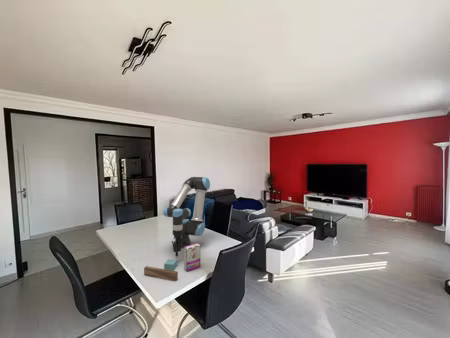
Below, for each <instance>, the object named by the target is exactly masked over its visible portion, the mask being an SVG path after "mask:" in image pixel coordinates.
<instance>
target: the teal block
mask: <svg viewBox="0 0 450 338" xmlns="http://www.w3.org/2000/svg"><path fill="white" fill-rule="evenodd" d="M163 267H164V268H163V269H166V270H171V271H175V270H176V268H177V267H178V260H175V259H170V258H169V259H167V260H166V262H165V263H164V264H163Z"/></svg>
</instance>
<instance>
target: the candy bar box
mask: <svg viewBox="0 0 450 338" xmlns="http://www.w3.org/2000/svg"><path fill="white" fill-rule="evenodd" d="M199 268H201V244H199V243H193V244H191V245H189V246H185V247H184V248H183V269H184V270H185V272H186V273H189V272H190V271H193V270H196V269H199Z"/></svg>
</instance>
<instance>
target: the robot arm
mask: <svg viewBox="0 0 450 338" xmlns="http://www.w3.org/2000/svg"><path fill="white" fill-rule="evenodd" d="M209 189H211V181H210V179H209V178H208V177H205V176H191V177H189V178H188V179H185V181H184V182H183V184H182V185H181V188H180V190H179V191H178V192H177V194H176V196H175V198H174V199H173V201H172V202H171V204H170V205H169V207H165V208H164V209H163V211H162V212H163V216H164V217H166V218H172V235H173V240H172V241H171V243H172V250H173V252H174V253H175V254H174V255H175V256H174V257H175V259H174V260H177V261H180V252H181V251H182V249H184V247H185V246H189V245H192V243H191V239H190V236H195V237H201V236H202V235H203V234H204V232H205V229H206V224H205V223H204V220H203V212H204V205H205V197H206V193H208V190H209ZM192 190H194V192H195V199H194V206H193V212H192V211H191V209H190V208H187V207H186V208H180V207H181V206H182V203H183V202H185V199H186V197H187V196H188V194H189V192H191V191H192ZM192 213H193V214H192ZM191 214H192V217H191ZM190 217H191V219H188V218H190Z"/></svg>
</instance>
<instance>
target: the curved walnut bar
mask: <svg viewBox="0 0 450 338" xmlns="http://www.w3.org/2000/svg"><path fill="white" fill-rule="evenodd" d="M143 276H146V277H150V278H151V277H152V278H158V279H162V280H167V281H173V282H177V281H178V279H179V278H178V276H179V272H178V271H176V270H174V271H171V270H166V269H164V268H159V267H153V266H149V265H146V266H145V267H143Z"/></svg>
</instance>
